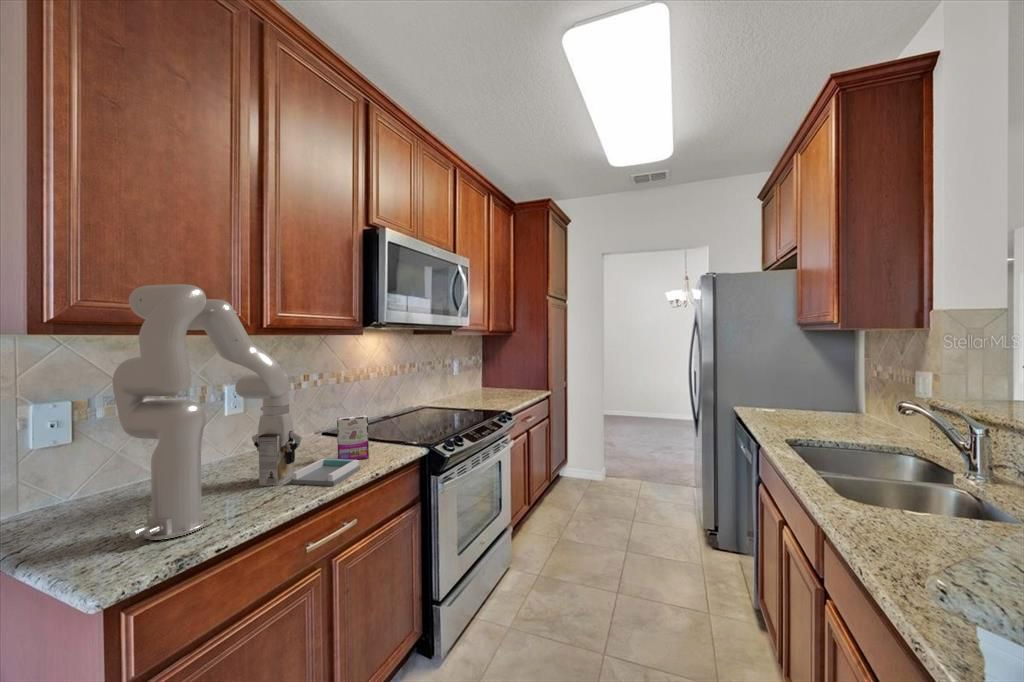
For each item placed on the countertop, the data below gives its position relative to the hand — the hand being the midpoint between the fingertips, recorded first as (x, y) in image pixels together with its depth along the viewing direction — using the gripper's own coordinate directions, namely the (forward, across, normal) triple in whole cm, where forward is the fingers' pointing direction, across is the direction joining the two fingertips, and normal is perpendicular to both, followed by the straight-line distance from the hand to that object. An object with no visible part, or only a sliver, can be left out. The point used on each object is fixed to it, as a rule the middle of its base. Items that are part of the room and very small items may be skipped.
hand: (277, 462), depth 134 cm
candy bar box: (+6, +12, +26) cm, 29 cm away
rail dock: (+6, +14, +6) cm, 16 cm away
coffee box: (+6, 0, 0) cm, 6 cm away
